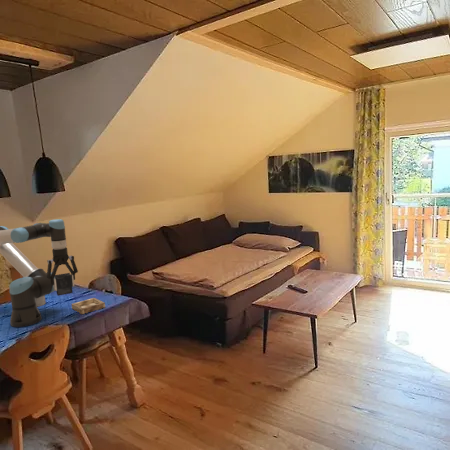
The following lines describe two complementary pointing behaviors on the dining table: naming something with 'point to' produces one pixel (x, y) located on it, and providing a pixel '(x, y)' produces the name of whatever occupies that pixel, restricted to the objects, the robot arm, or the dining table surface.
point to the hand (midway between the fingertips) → (64, 287)
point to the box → (63, 284)
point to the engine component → (40, 301)
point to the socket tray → (88, 305)
